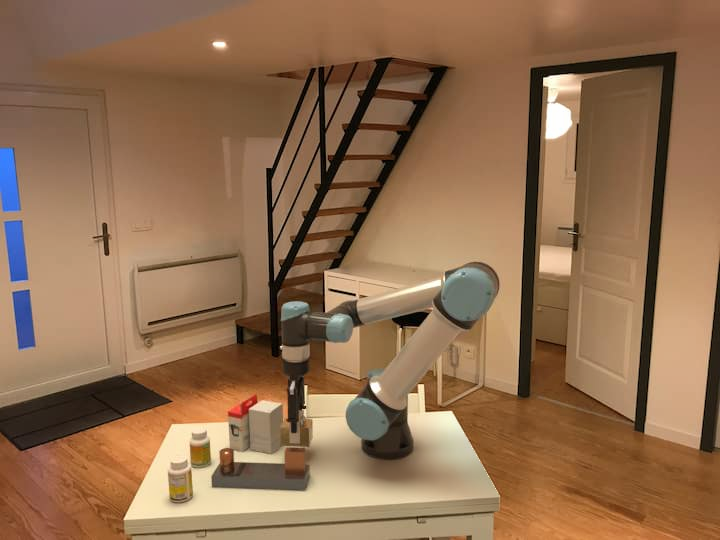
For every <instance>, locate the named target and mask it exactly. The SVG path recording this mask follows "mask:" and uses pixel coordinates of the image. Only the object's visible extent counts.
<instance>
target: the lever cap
mask: <svg viewBox="0 0 720 540" xmlns="http://www.w3.org/2000/svg"><path fill="white" fill-rule="evenodd" d="M286 419H288V417H287V418H286V417H284V418H283V423H282V425H281V427H280V438H281V447H295V448H310V446H311V443H312V440H313V436H314V435H313V434H314V433H313V432H314V430H313V429H314V428H313V426H314V425H313V424H314V423H313V418H307V417H306V416H305V415H304V416H301V417H300V419H299V420H300V443H290V429H289V422H287V421H286Z"/></svg>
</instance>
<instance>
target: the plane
mask: <svg viewBox="0 0 720 540" xmlns="http://www.w3.org/2000/svg"><path fill="white" fill-rule="evenodd" d="M306 448H307V447H295V446H285V450H284V463H279V462H277V463H276V462H273V463H272V462H250V461H249V462H243V461H235V454H234V453H235V450H234V449H232V448H230V447H224V448H222V449H220V450H219V453H218V454H219V464H218V465H217V466H216V468H215V469H214V471H213V473H211V477H210V478H211V487H212V488H228V489H229V488H232V489H233V488H234V489H250V490H251V489H252V490H253V489H255V490H278V489H280V490H283V491H304V492H305V491H306V488H307V485H308V482H309V479H310V475H311V472H310V469H311V467H310V464H308V463H307V458H306V457H307V451H306Z"/></svg>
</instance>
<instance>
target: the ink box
mask: <svg viewBox="0 0 720 540" xmlns="http://www.w3.org/2000/svg"><path fill="white" fill-rule="evenodd" d="M257 403H259V401H258V394H257V393H256V394H254V395H252V396H250V397H248V398H246V400H243V402H240V403H239V404H237V405H236V406H234V407H233V408H231V409H229V410H228V411H227V416H228V418H227V420H228V421H227V422H228V436H229V437H228V438H229V439H228V440H229V442H228V443H229V448H232V449H233V450H234V451H235V450H236V451H240V452H245V451H246V450H247V449H248V448H250V428H249V408H251V407H252V406H254V405H256V404H257Z"/></svg>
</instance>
